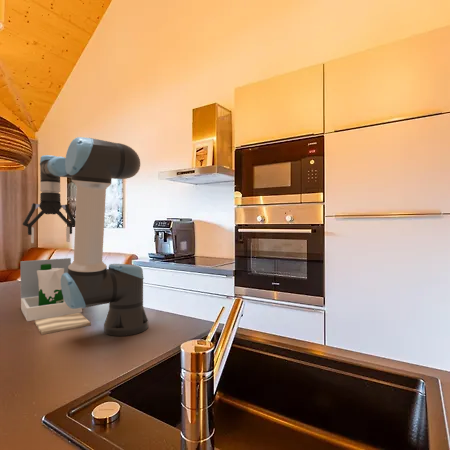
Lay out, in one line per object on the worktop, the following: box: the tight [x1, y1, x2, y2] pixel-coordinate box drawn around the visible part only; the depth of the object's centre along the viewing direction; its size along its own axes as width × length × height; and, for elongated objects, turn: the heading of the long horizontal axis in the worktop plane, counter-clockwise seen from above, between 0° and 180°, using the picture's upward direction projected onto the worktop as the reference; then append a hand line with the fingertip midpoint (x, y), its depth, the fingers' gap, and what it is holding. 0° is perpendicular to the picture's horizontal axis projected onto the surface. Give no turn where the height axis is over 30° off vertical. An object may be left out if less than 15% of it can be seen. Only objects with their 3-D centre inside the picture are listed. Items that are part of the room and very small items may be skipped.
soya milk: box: [37, 264, 64, 306], centre depth 137 cm, size 9×9×20 cm
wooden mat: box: [34, 312, 92, 335], centre depth 120 cm, size 16×16×1 cm
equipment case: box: [19, 257, 83, 322], centre depth 140 cm, size 27×20×21 cm
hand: (50, 242), depth 137 cm, fingers open, 13 cm apart
